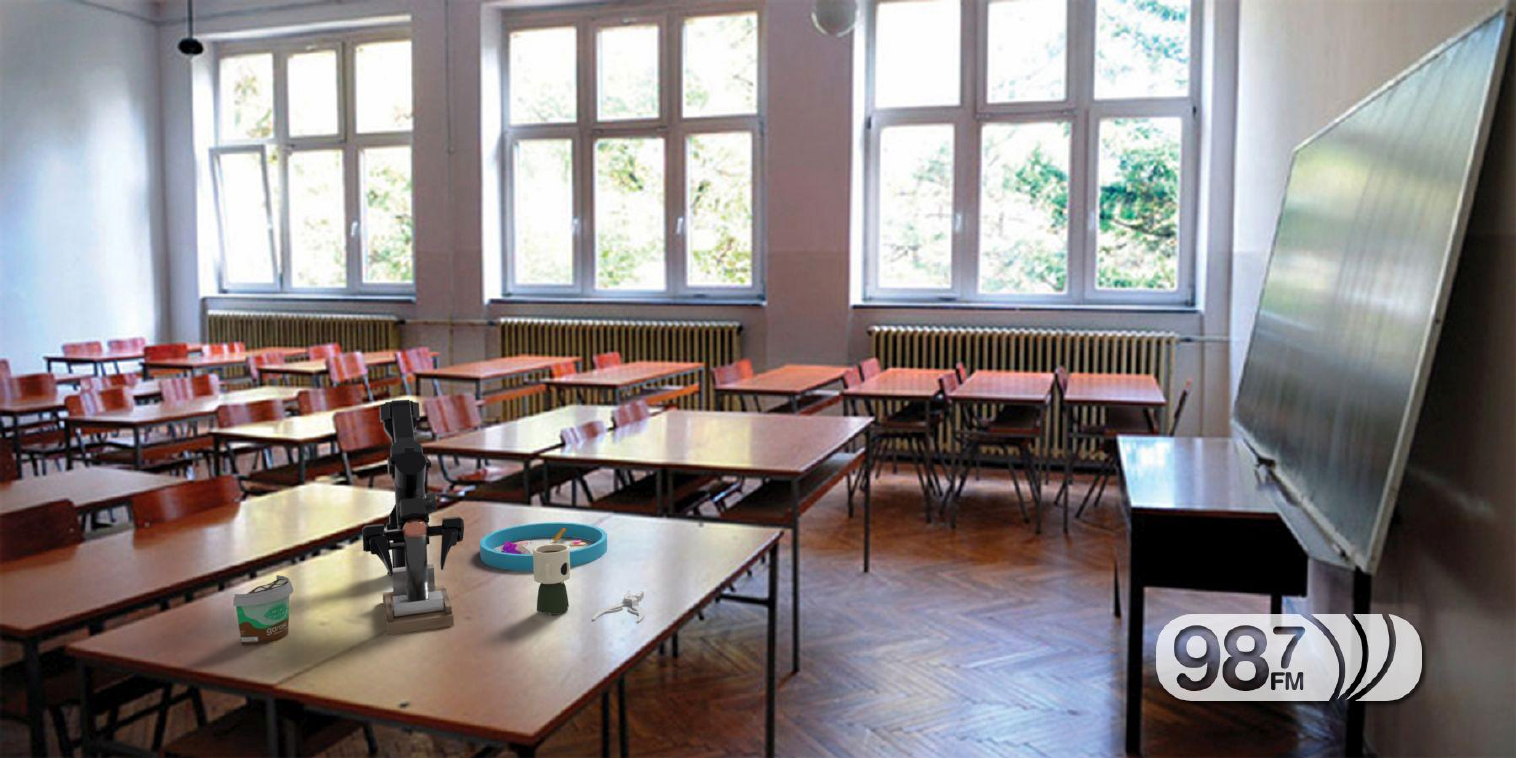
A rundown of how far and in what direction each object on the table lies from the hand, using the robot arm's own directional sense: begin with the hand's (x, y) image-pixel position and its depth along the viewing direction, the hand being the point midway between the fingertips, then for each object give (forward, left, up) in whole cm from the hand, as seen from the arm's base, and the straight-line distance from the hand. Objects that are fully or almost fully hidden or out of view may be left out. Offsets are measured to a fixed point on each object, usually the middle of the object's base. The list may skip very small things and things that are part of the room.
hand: (417, 571), depth 189 cm
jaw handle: (-1, +1, -8) cm, 8 cm away
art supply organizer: (-10, +50, -11) cm, 52 cm away
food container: (-19, -17, -11) cm, 28 cm away
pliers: (+31, +25, -11) cm, 41 cm away
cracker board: (-5, +4, -10) cm, 12 cm away
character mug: (+19, +17, -10) cm, 27 cm away
